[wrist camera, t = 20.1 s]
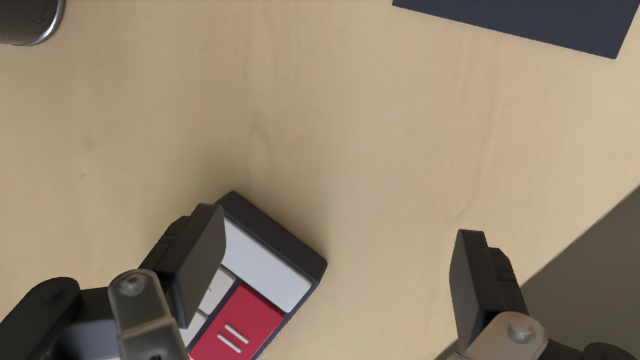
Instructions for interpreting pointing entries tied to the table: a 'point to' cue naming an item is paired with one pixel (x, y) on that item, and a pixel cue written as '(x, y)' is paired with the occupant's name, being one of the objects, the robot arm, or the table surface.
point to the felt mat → (543, 20)
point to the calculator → (251, 286)
